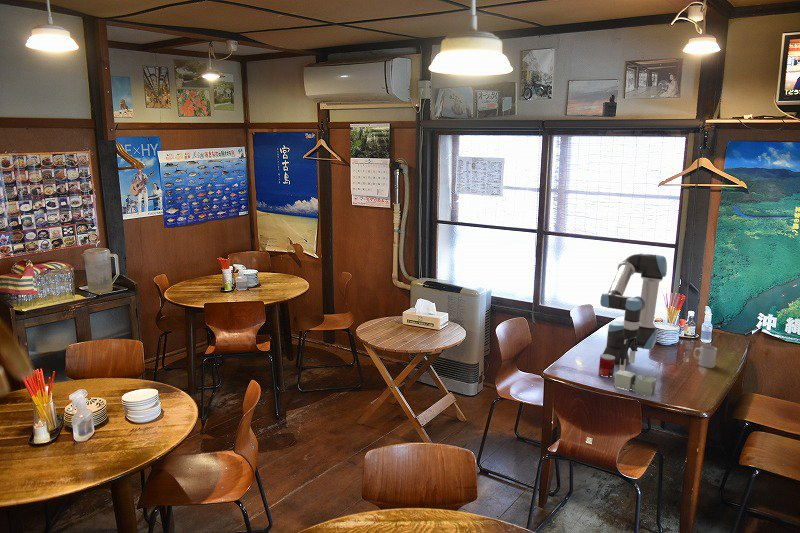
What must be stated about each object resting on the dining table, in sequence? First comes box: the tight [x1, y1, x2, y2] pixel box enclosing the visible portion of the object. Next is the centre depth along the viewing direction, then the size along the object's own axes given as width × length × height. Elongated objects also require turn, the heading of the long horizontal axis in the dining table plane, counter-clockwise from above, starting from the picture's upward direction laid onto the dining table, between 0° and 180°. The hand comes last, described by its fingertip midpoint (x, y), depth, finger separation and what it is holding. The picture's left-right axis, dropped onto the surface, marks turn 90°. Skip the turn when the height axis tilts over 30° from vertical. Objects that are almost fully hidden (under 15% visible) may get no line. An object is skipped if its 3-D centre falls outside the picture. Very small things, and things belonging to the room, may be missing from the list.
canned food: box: [598, 353, 616, 377], centre depth 343 cm, size 8×8×11 cm
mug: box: [693, 344, 718, 369], centre depth 364 cm, size 12×8×11 cm
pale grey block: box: [630, 374, 657, 398], centre depth 324 cm, size 18×7×8 cm, turn 50°
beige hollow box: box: [613, 369, 637, 391], centre depth 327 cm, size 9×7×8 cm
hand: (626, 366), depth 326 cm, fingers open, 13 cm apart
